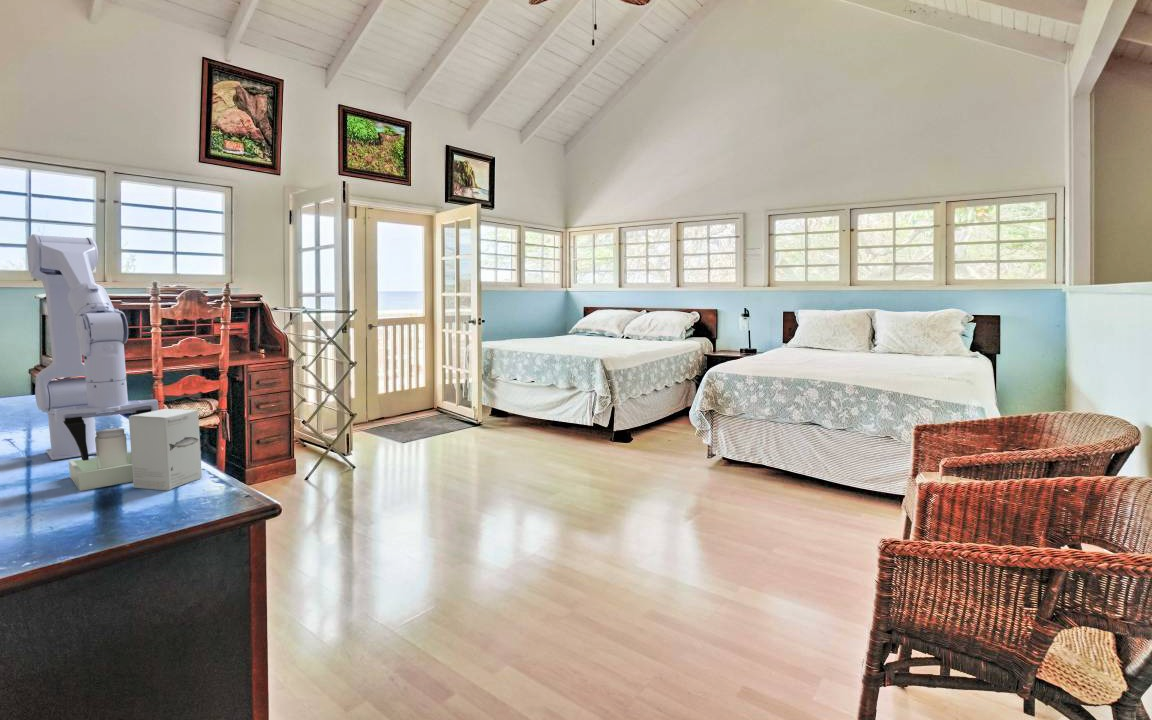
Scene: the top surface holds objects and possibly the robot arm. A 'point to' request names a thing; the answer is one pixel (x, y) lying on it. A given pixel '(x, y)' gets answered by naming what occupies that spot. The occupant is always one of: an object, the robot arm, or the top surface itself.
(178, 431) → the supplement box
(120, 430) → the shaker
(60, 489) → the top surface
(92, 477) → the tray
